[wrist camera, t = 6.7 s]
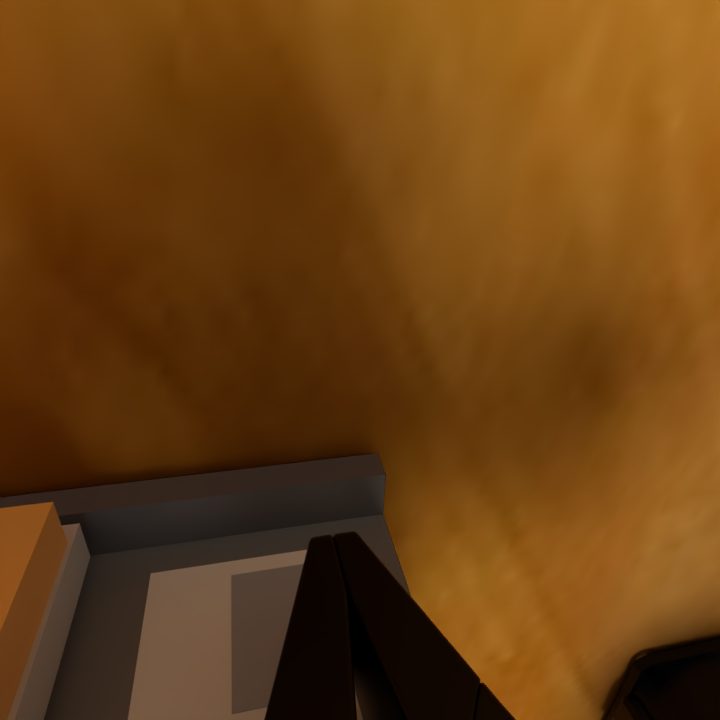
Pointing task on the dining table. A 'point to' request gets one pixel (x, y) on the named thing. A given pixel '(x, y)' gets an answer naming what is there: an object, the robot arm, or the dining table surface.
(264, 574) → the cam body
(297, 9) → the dining table surface
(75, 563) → the side door
